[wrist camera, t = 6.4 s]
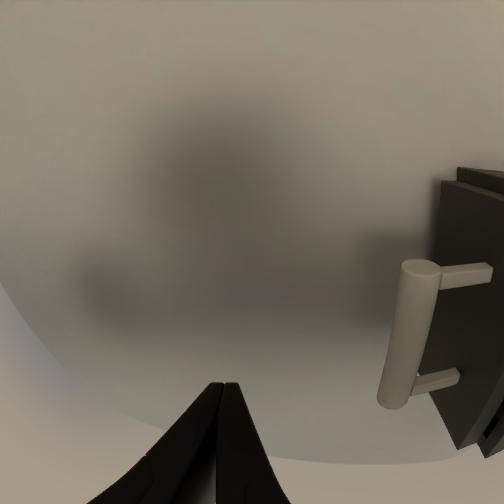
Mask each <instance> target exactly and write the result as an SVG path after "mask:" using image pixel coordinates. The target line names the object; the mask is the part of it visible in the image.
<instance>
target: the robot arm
mask: <svg viewBox="0 0 504 504" xmlns="http://www.w3.org/2000/svg"><path fill="white" fill-rule="evenodd" d="M215 502H216V504H291V503H290V502H289V500H288V499H287V497H286V495H285V494H284V492H283V490H282V489H281V487H280V485H279V483H278V481H277V478H276V476H275V474H274V472H273V469H272V467H271V465H270V463H269V460H268V458H267V455H266V453H265V450H264V448H263V445H262V443H261V441H260V438H259V436H258V433H257V430H256V428H255V425H254V423H253V420H252V418H251V415H250V413H249V410H248V407H247V405H246V402H245V399H244V397H243V394H242V391H241V389H240V386H239V384H238V383H237V382H227V383H225V384H224V383H222V382H212V383H210V384H209V385H208V386H207V387H206V388H205V389H204V391H203V392H202V393H201V394H200V395H199V396H198V397H197V399H196V400H195V401H194V402H193V403H192V404H191V405H190V406H189V408H188V409H187V410H186V411H185V412H184V413H183V414H182V415H181V416H180V418H179V419H178V420H177V421H176V422H175V423H174V424H173V425H172V426H171V427H170V429H169V430H168V431H167V432H166V433H165V434H164V435H163V436H162V437H161V438H160V439H159V440H158V442H157V443H156V444H155V445H154V446H153V447H152V448H151V449H150V450H149V451H148V452H147V453H146V456H143V457H142V458H141V459H140V460H139V461H138V462H137V463H136V464H135V465H134V466H133V467H132V468H131V469H130V470H129V471H128V472H127V473H126V474H125V475H124V476H122V477H121V478H120V479H119V480H118V481H117V482H115V483H114V484H113V485H111V486H110V487H109V488H108V489H106V490H105V491H103V492H102V493H101V494H100V495H98V496H97V497H95V498H94V499H93V500H91V501H90V502H88V503H87V504H215Z"/></svg>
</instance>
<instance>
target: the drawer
mask: <svg viewBox="0 0 504 504" xmlns="http://www.w3.org/2000/svg"><path fill="white" fill-rule="evenodd" d="M417 372H418V373H419V375H420V376H417V377H416V375H417ZM426 392H429V394H430V396H431V398H432V399H433V401H434V403H435V405H436V407H437V409H438V411H439V413H440V415H441V417H442V419H443V421H444V423H445V425H446V428H447V430H448V432H449V434H450V436H451V438H452V440H453V442H454V445H455V447H456V449H457V450H459V449H462V448H464V447H467V446H469V445H472V444H474V443H476V442H477V440H478V439H479V438H480V436H481V435H482V433H483V432H484V430H485V429H486V427H487V426H488V424H489V423H490V421H491V420H492V418H493V416H494V415H496V416H497V418H498V420H500V418H501V417H502V415H503V414H504V195H502V194H499V193H496V192H493V191H490V190H487V189H484V188H480V187H477V186H474V185H470V184H467V183H463V182H460V181H441V192H440V211H439V224H438V235H437V244H436V253H435V260H434V262H431V261H428V260H423V259H410V260H406V261H404V262H403V263H402V265H401V271H400V279H399V287H398V294H397V301H396V308H395V314H394V320H393V326H392V331H391V336H390V342H389V346H388V351H387V356H386V361H385V365H384V369H383V373H382V378H381V382H380V386H379V389H378V393H377V400H378V403H379V404H380V405H381V406H382V407H384V408H386V409H391V410H395V409H399V408H401V407H403V406H404V405H405V404H406V403H407V401H408V398H409V396H413V395H417V394H422V393H426Z"/></svg>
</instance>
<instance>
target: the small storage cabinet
mask: <svg viewBox="0 0 504 504" xmlns="http://www.w3.org/2000/svg"><path fill="white" fill-rule="evenodd" d="M457 181H460V182H463V183H467V184H470V185H474V186H477V187H480V188H484V189H487V190H490V191H493V192H496V193H499V194H502V195H504V172H501V171H493V170H483V169H473V168H461V167H458V168H457ZM477 444H478V446H479V447H480V449H481V452H482V454H483V456H484V458H488V457H490V456H492V455H494V454H496V453H498V452H500V451H502V450H503V449H504V414H503V415H502V417H501V418H500V420H498V418H497V416H496V415H494V416H493V418H492V420H491V421H490V423H489V424H488V426H487V427H486V429H485V430H484V432H483V433H482V435H481V436H480V438H479V439H478V440H477Z"/></svg>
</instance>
